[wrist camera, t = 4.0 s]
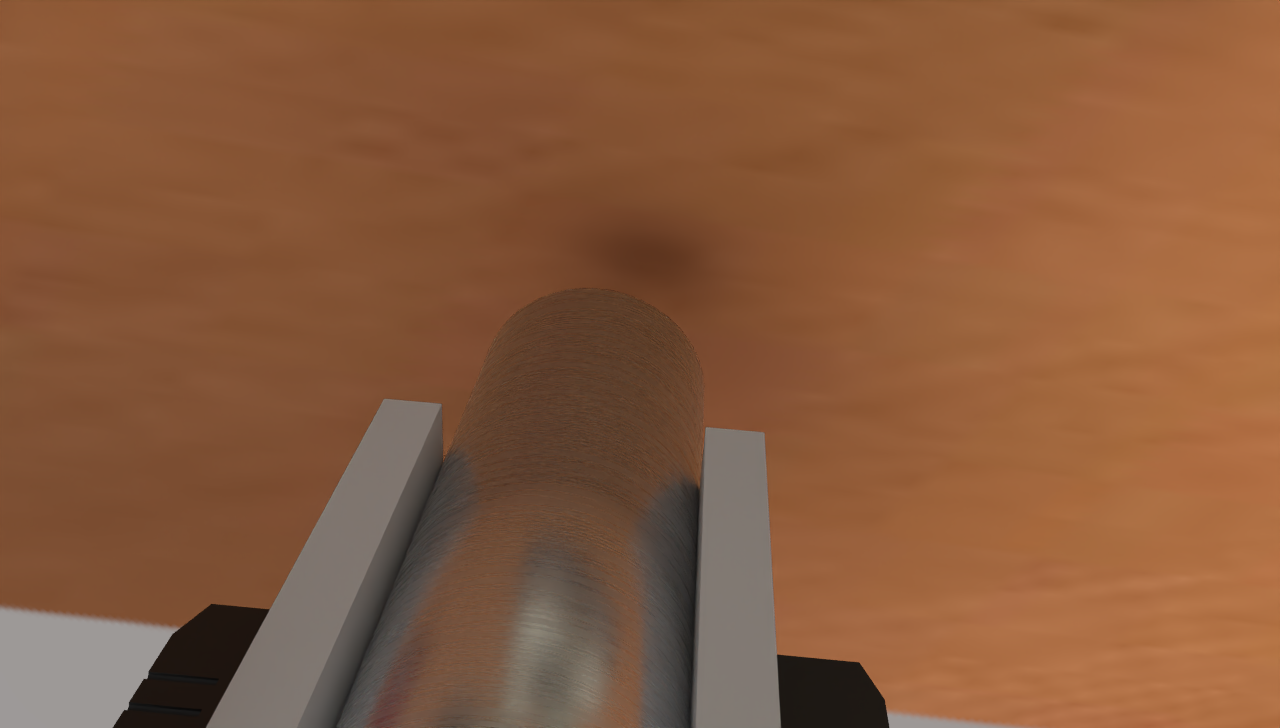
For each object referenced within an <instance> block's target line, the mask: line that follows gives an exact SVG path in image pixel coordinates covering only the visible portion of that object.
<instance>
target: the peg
mask: <svg viewBox="0 0 1280 728" xmlns="http://www.w3.org/2000/svg"><path fill="white" fill-rule="evenodd" d="M703 418H704V379H703V372H702V369H701V365H700V361H699V359H698V357H697V354H696V352H695V350H694V348H693V346H692V345H691V343H690V341H689V340H688V338H687V337H686V335H685V334H684V333H683V332H682V331H681V329H680V328H679V327H678V326H677V325H676V324H675V323H674V322H673V321H672V320H671V319H670V318H669V317H668V316H666V315H665V314H664V313H662V312H661V311H659V310H658V309H657V308H655V307H654V306H652V305H650V304H648V303H646V302H644V301H643V300H640V299H638V298H635V297H633V296H630V295H628V294H624V293H620V292H616V291H612V290H605V289H598V288H579V289H569V290H564V291H560V292H555V293H552V294H549V295H547V296H544V297H541V298H539V299H537V300H535V301H533V302H531V303H529V304H527V305H526V306H525V307H523V308H522V309H520V310H519V311H518V312H516V313H515V314H514V315H513V316H512V317H511V318H510V319H509V320H508V321H507V322H506V323H505V324H504V325H503V327H502V328H501V329H500V331H499V332H498V333H497V335H496V337H495V339H494V340H493V342H492V344H491V347H490V349H489V352H488V354H487V356H486V359H485V361H484V364H483V366H482V369H481V371H480V374H479V376H478V379H477V381H476V383H475V386H474V388H473V391H472V393H471V396H470V398H469V401H468V403H467V406H466V408H465V411H464V413H463V415H462V418H461V420H460V423H459V425H458V428H457V430H456V433H455V435H454V438H453V440H452V442H451V445H450V447H449V450H448V452H447V455H446V457H445V460H444V462H443V465H442V467H441V470H440V472H439V474H438V477H437V479H436V482H435V484H434V487H433V489H432V492H431V494H430V497H429V499H428V501H427V504H426V506H425V509H424V511H423V514H422V516H421V519H420V521H419V524H418V526H417V528H416V531H415V533H414V536H413V538H412V541H411V543H410V546H409V548H408V551H407V553H406V556H405V558H404V560H403V563H402V565H401V568H400V570H399V573H398V575H397V578H396V580H395V583H394V585H393V587H392V590H391V592H390V595H389V597H388V600H387V602H386V605H385V607H384V610H383V612H382V615H381V617H380V619H379V622H378V624H377V627H376V629H375V632H374V634H373V637H372V639H371V642H370V644H369V646H368V649H367V651H366V654H365V656H364V659H363V661H362V664H361V666H360V669H359V671H358V673H357V676H356V678H355V681H354V683H353V686H352V688H351V691H350V693H349V696H348V698H347V701H346V703H345V705H344V708H343V710H342V713H341V715H340V718H339V720H338V723H337V725H336V728H690V716H691V690H692V664H693V638H694V612H695V587H696V561H697V535H698V509H699V487H700V477H701V468H702V446H703Z"/></svg>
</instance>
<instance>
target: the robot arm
mask: <svg viewBox="0 0 1280 728" xmlns="http://www.w3.org/2000/svg"><path fill="white" fill-rule="evenodd" d="M442 465H443V434H442V404H439V403H427V402H416V401H405V400H393V399H384V400H383V402H382V404H381V405H380V407H379V409H378V411H377V413H376V415H375V416H374V418H373V420H372V422H371V424H370V426H369V428H368V429H367V431H366V433H365V435H364V437H363V439H362V440H361V442H360V444H359V446H358V448H357V450H356V452H355V453H354V455H353V457H352V459H351V461H350V463H349V464H348V466H347V468H346V470H345V472H344V474H343V476H342V477H341V479H340V481H339V483H338V485H337V487H336V488H335V490H334V492H333V494H332V496H331V498H330V500H329V501H328V503H327V505H326V507H325V509H324V511H323V512H322V514H321V516H320V518H319V520H318V522H317V524H316V525H315V527H314V529H313V531H312V533H311V535H310V536H309V538H308V540H307V542H306V544H305V546H304V548H303V549H302V551H301V553H300V555H299V557H298V559H297V560H296V562H295V564H294V566H293V568H292V570H291V572H290V573H289V575H288V577H287V579H286V581H285V583H284V584H283V586H282V588H281V590H280V592H279V594H278V596H277V597H276V599H275V601H274V603H273V605H272V607H271V608H270V610H269V609H258V608H248V607H237V606H227V605H216V604H211V605H210V606H208V607H207V608H206V609H205V610H203V611H202V612H201V613H199V614H198V615H197V616H196V617H194V618H193V619H192V620H190V621H189V622H188V623H187V624H185V625H184V626H183V627H181V628H180V629H179V630H178V631H176V632H175V633H174V634H173V635H172V636H171V637H170V639H169V641H168V642H167V644H166V645H165V647H164V648H163V650H162V652H161V653H160V655H159V656H158V658H157V659H156V661H155V662H154V664H153V666H152V667H151V669H150V670H149V675H148V678H147V679H144V680H143V681H142V683H141V685H140V686H139V688H138V689H137V691H136V692H135V694H134V695H133V697H132V699H131V700H130V702H129V708H128V710H124V711H123V713H122V714H121V716H120V717H119V719H118V720H117V722H116V724H115V725H114V727H113V728H336V725H337V723H338V720H339V718H340V715H341V713H342V710H343V708H344V705H345V703H346V701H347V698H348V696H349V693H350V691H351V688H352V686H353V683H354V681H355V678H356V676H357V673H358V671H359V669H360V666H361V664H362V661H363V659H364V656H365V654H366V651H367V649H368V646H369V644H370V642H371V639H372V637H373V634H374V632H375V629H376V627H377V624H378V622H379V619H380V617H381V615H382V612H383V610H384V607H385V605H386V602H387V600H388V597H389V595H390V592H391V590H392V587H393V585H394V583H395V580H396V578H397V575H398V573H399V570H400V568H401V565H402V563H403V560H404V558H405V556H406V553H407V551H408V548H409V546H410V543H411V541H412V538H413V536H414V533H415V531H416V528H417V526H418V524H419V521H420V519H421V516H422V514H423V511H424V509H425V506H426V504H427V501H428V499H429V497H430V494H431V492H432V489H433V487H434V484H435V482H436V479H437V477H438V474H439V472H440V470H441V467H442ZM690 728H889V723H888V717H887V711H886V705H885V700H884V698H883V697H882V695H881V694H880V692H879V691H878V689H877V688H876V686H875V685H874V683H873V682H872V680H871V679H870V678H869V676H868V675H867V673H866V672H865V670H864V669H863V667H862V666H861V664H860V663H859V662H848V661H838V660H827V659H817V658H806V657H796V656H785V655H777V649H776V631H775V613H774V595H773V577H772V559H771V541H770V523H769V505H768V488H767V470H766V452H765V434H764V432H754V431H743V430H732V429H721V428H709V427H706V430H705V439H704V449H703V458H702V468H701V477H700V487H699V509H698V535H697V561H696V587H695V612H694V638H693V664H692V690H691V716H690Z"/></svg>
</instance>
